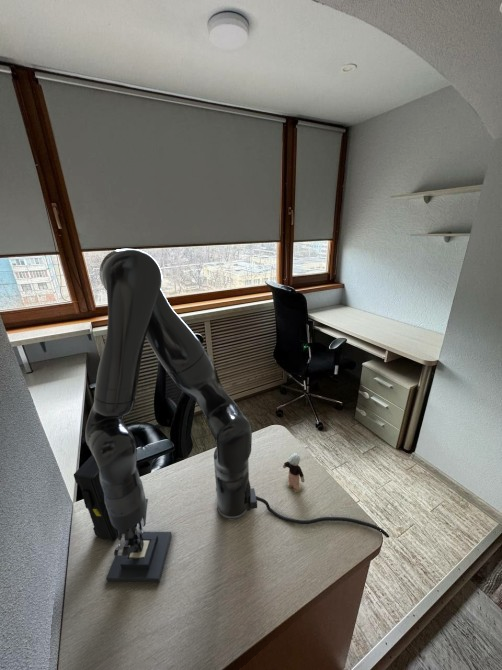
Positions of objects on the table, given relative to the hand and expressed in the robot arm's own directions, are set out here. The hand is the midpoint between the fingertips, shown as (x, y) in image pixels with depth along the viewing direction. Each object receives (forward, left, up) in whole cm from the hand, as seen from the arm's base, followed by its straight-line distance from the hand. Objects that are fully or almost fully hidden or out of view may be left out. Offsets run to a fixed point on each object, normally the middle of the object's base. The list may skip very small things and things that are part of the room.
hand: (138, 548), depth 65 cm
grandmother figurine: (-43, -11, -4) cm, 45 cm away
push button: (0, 0, -4) cm, 4 cm away
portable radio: (+9, -9, -4) cm, 13 cm away
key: (0, 0, -2) cm, 2 cm away
